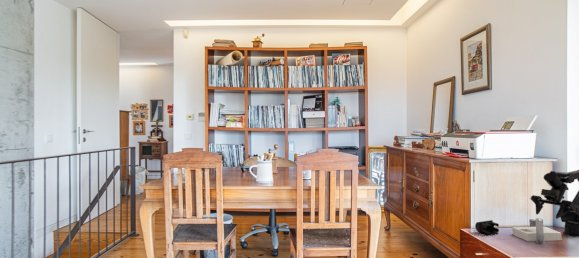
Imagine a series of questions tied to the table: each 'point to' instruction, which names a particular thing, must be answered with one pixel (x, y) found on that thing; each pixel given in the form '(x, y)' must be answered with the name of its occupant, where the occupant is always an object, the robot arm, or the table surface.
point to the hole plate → (530, 233)
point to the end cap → (487, 227)
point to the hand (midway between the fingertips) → (546, 216)
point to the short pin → (532, 222)
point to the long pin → (539, 231)
